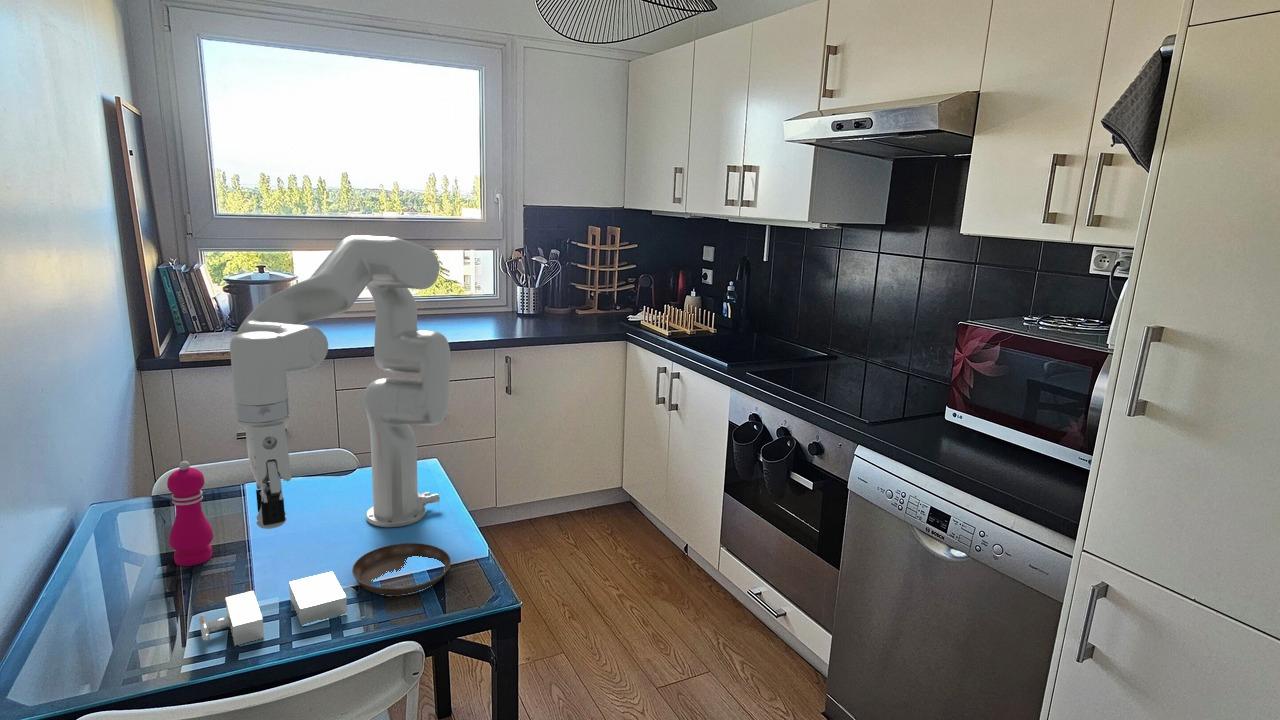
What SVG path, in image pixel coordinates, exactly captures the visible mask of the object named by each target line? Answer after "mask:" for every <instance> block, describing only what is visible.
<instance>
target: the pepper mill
mask: <svg viewBox="0 0 1280 720" xmlns="http://www.w3.org/2000/svg"><path fill="white" fill-rule="evenodd" d="M190 466H191V465H190V462H189V461H187V460H183V461H181V462H179V463H178V467H179V468H178V469H177V470H174V471H173V472H171V474H170V475H169V476H168V478H167V484H166V485H167V489H168V491H169V492H170V493H172V495H171V499H172V501H171V502H172V504H173V505H174V506H175V519H174V523H173V525H172V527H171V530H170V533H169V546H170V547H171V548H172V549H173V550H174V553H173V559H174V563H175V565H177V566H180V567H191V566H196V565H200V564H203V563H206V562H207V561H209V560H210V559H211V558H212V556H213V550H212V549H213V548H212V546H211V543H212V541H213V540H214V532H213V531H214V530H213V527H212V526H211V524H210V522H209V520H208V519H207V518H206V517H205V514H204V512H203V509H202V500H203V498H204V496H203V494H204V493H203V491H202V488H203V487H204V485H205V476H204V474H203V473H202V471H201V470H200V469H198V468H195V467H190Z"/></svg>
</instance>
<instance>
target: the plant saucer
mask: <svg viewBox="0 0 1280 720" xmlns="http://www.w3.org/2000/svg"><path fill="white" fill-rule="evenodd" d="M412 556H419V557H420V556H422V557H428V558H434V559H437V560H439V561H441V562H442V563H443V564H444V565H445V572H444V573H442V574H441V575H440V576H438V577H437V578H435V579H433V580H431V581H428V582H426V583H423V584H419V585H415V586H410V587H403V588H383V587H376V586H372V585H373V584H372V582H373V580H374V579H375V578H376V579H377V578H378V577H380V576H381V575H382V574H383V575H384V574H385V573H387V572H388V571H389V572H391V571H392V572H393V571H394V569H395V570H396V572H397V571H398V570H399V569H400V570H401V568H402V567H403V566H404V564H405V562H406V560H407V558H408V557H412ZM405 559H406V560H405ZM404 561H405V562H404ZM406 563H407V562H406ZM451 563H452V561H451V557H450V555H449V554H448V553H447V552H446V551H445V550H444V549H443V548H441V547H438V546H435V545H432V544H428V543H421V542H420V543H419V542H403V543H395V544H388V545H385V546H381V547H378V548H374V549H373V550H370V551H367V552H366V553H365V554H363V555H361V556H360V557H359V558H358V559H356V561H355V562H354V564H353V565H352V569H351V574H352V577H354V579H355V580H356V582H358V584H359V585H360V586H362V588H364V589H365V590H367V591H368V590H369V591H368V592H370V591H371V592H370V593H372V592H373V594H375V593H377V594H376V595H378V594H384V595H401V594H408V593H412V592H416V591H419V590H422V589H425V588H427V587H429V586H431V585H433V584H434V583H436V582H437V581H438V582H439V581H440V580H441V579H442V578H443V577H444V576H445V575H446V573H447V572H448V570H449V569H450V566H451ZM405 565H406V564H405ZM401 566H402V567H401ZM403 568H404V567H403ZM400 570H399V571H400ZM386 571H387V572H386ZM392 572H391V573H392ZM383 575H382V576H383ZM372 579H373V580H372ZM371 580H372V581H371ZM438 582H437V583H438ZM369 583H371V584H372V585H371V584H370V585H368V584H369ZM437 583H436V584H437ZM433 586H434V585H433Z"/></svg>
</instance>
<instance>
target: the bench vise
mask: <svg viewBox="0 0 1280 720" xmlns="http://www.w3.org/2000/svg"><path fill="white" fill-rule="evenodd" d="M288 587H289V599H291V601H290V602H292V603H291V605H292V604H293V605H292V607H293V606H294V608H293V610H294V609H295V610H294V612H295V611H296V613H297V615H296V617H297V616H298V618H299V620H300V622H299V624H300V623H301V625H304V624H307V623H311V622H314V621H317V620H323V619H327V618H331V617H335V616H340V615H342V614H345V613H347V614H348V607H347V604H348V603H347V596H346V593H345V592H344V590H343V588H342V586H341V585H340V583H339V581H338V579H337V577H336V575H335V574H334V572H333V571H329V572H325V573H320V574H317V575H313V576H308V577H304V578H300V579H296V580H292V581H288ZM259 606H260V605H259V604H258V601H257V598H256V594H255V591H254V590H250V591H246V592H242V593H238V594H234V595H230V596H225V608H226V616H224V617H221V618H216V619H213V620H209V621H207V617H206V615H200V616H199V617H198V621H199V622H198V623H199V626H200V627H199V628H200V632H201V637H202V640H203V641H208V640H209V639H210V637H211V635H210V632H213V631H217V630H221V629H225V628H229V629H231V630H230V632H231V633H232V634H231V637H233V638H232V641H233V644H234V647H237V646H236V645H238V646H241V645H240V644H242V645H244V644H243V643H245V644H247V643H246V642H249V643H251V642H250V641H253V642H255V641H254V640H256V641H259V640H258V639H260V640H262V639H261V638H263V639H265V631H264V620H263V615H262V613H261V610H260V607H259ZM296 613H295V614H296ZM298 618H297V619H298ZM299 620H298V621H299ZM301 625H300V626H301Z"/></svg>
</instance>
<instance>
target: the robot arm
mask: <svg viewBox="0 0 1280 720" xmlns="http://www.w3.org/2000/svg"><path fill="white" fill-rule="evenodd" d="M439 273H440V265H439V261H438V257H437V255H435V253H434V251H432V249H430V248H428V247H426V246H424V245H423V246H422V245H420V244H417V243H414V242H412V241H408V240H405V239H403V238H398V237H392V236H391V237H390V236H380V235H379V236H378V235H377V236H376V235H361V234H360V235H359V234H358V235H349V236H347V237H345V238H343V239H342V240H340V241H339V243H337V245H336V246H335V247H334V249H333V250H331V252H330V253H329V254H328V255H327V256H326V258H325V259H324V260H323V261H322V263H321V264H320V265H319V266H318V268H317V269H316V270H314V273H313V274H311V276H310V277H309V278H307V279H305V280H301V281H300V282H297V283H295V284H293V285H290V286H288V287H286V288H284V289H282V290H280V291H278V292H276V293H274V294H272V295H270V296H268V297H267V298H266V299H263V300H262V301H260V302H259V304H257V306H255V308H254V309H253V310H252V311H251V312H250V313H249V314H248V315H247V317H246V318H245V319H244V320H243V321H242V323H241V324H240V326H239V328H238V329H237V332H236V334H235V336H234V337H232V338H231V340H230V343H229V352H230V362H231V363H230V364H231V376H232V382H233V383H232V384H233V395H234V407H235V408H234V409H235V418H236V423H237V424H238V425H241V426H245V427H244V428H245V437H246V438H245V441H246V448H247V456H248V461H249V466H250V471H251V473H252V475H253V477H254V479H255V482H256V483H255V484H256V490H255V494H256V507H257V512H258V513H259V510H260V509H261V508H262V520H263V524H264V525H270V524H275V523H280V522H284V521H285V517H286V515H285V513H286V511H285V502H284V501H285V499H284V497H283V487H282V480H283V482H284V481H286V482H290V481H291V479H292V472H291V471H292V470H291V465H290V463H291V462H290V455H289V446H288V439H287V433H286V432H287V431H286V426H285V421H287V420H289V419H290V403H289V389H288V378H287V377H288V374H289V373H296V372H302V371H303V372H304V371H308V370H311V369H314V368H316V367H318V366H319V365H320V364H321V363H323V361H324V360H325V358H326V356H327V355H328V352H329V341H328V338H327V337H326V335H325V334H324V332H323V331H322V330H320V329H319V328H317V327H315V326H312V325H308V324H305V323H308V322H313V321H318V320H322V319H327V318H330V317H335V316H337V315H340V314H341V315H342V314H344V313H345V312H347V311H348V310H350V309H351V308H352V306H353V305H354V304H355V302H356V301H357V300H358V298H359V296H360V295H361V294H362V292H363V291H364V290H365V288H367V289H368V291H369V292H370V295H371V297H372V299H373V303H374V307H375V308H374V309H375V324H374V325H375V327H374V343H373V344H374V347H373V348H374V349H373V351H374V352H373V354H374V356H373V357H374V362H375V365H376V366H377V367H378V368H379V369H380V370H382V371H386V372H391V373H401V374H411V375H412V374H413V375H420V377H421V380H417V379H416V380H415V379H406V378H395V377H394V378H393V377H383V378H382V377H381V378H379V379H378V378H377V379H375V380H374V381H372V382H370V383H369V385H368V386H367V387H366V389H365V390H364V394H363V405H364V410H365V414H366V417H367V422H368V427H369V434H370V438H369V439H370V454H371V455H370V456H371V458H370V459H371V460H370V461H371V480H372V481H371V483H372V504H373V505H372V506H371V507H370V508H369V509H368V510H366V513H365V516H366V520H367V522H368V523H369V524H370V525H373V526H376V527H382V528H399V527H404V526H405V527H406V526H409V525H413V524H414V523H417V522H419V521H420V520H422V519H423V518H424V517H425V515H426V506H427V505H428V504H435V503H438V502H441V501H440V500H441V499H440V498H441V497H440V494H439V493H433V494H431V493H430V491H428V492H422V493H419V489H418V488H419V487H418V486H419V485H418V455H417V454H418V445H417V437H416V433H415V432H414V430H413V428H412V427H411V425H413V426H414V425H416V426H426V427H427V426H429V427H430V426H431V427H432V426H437V425H440V424H441V423H442V422H443V421H444V419H445V418H446V415H447V411H448V406H449V395H450V394H449V393H450V391H449V390H450V375H451V374H450V370H451V348H450V345H449V341H448V339H447V337H446V336H445V335H444V334H443V333H441V332H438V331H435V330H424V329H418V305H417V302H416V300H415V298H414V296H413V294H412V292H411V291H410V289H414V290H426V289H429V288H431V287H433V286H434V285H435V284H436V282H437V280H438V277H439V275H440V274H439ZM264 479H269V482H264ZM258 485H260V486H261V488H262V496H263V501H261V500H262V499H261V495H260V492H261V489H260V488H259V487H258ZM269 486H270V488H269V490H267V492H266V487H269ZM285 522H286V521H285Z"/></svg>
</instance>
